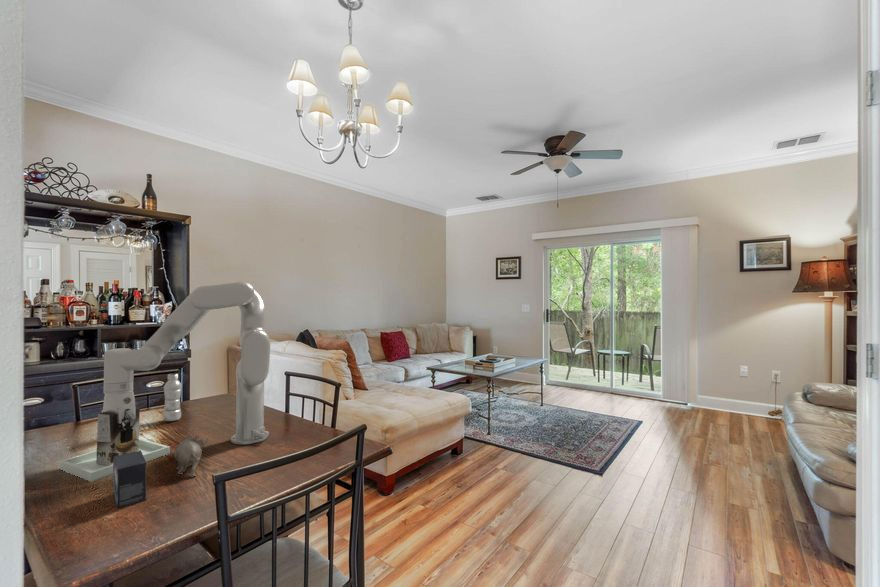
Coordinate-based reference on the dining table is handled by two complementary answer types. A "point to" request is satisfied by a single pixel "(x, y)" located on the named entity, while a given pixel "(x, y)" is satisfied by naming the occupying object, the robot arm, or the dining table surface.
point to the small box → (129, 478)
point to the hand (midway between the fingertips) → (117, 439)
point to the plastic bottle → (172, 398)
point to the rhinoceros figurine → (189, 454)
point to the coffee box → (114, 438)
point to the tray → (91, 471)
